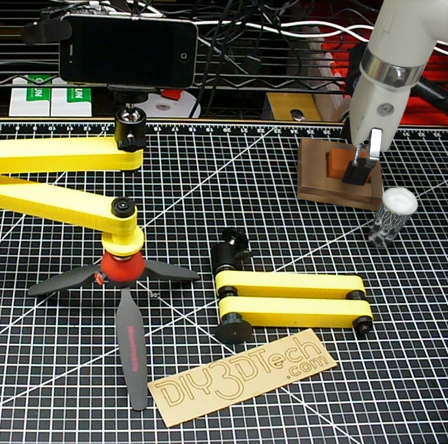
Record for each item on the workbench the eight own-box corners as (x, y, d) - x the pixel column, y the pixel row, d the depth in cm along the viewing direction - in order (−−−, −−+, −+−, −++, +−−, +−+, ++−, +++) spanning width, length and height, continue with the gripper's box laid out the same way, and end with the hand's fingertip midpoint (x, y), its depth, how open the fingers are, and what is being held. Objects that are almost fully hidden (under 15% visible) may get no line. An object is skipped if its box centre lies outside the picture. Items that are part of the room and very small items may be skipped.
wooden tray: (372, 161, 93) (378, 148, 91) (377, 211, 86) (384, 198, 84) (297, 149, 94) (301, 136, 92) (296, 198, 87) (301, 185, 85)
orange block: (362, 167, 90) (368, 153, 88) (364, 188, 87) (370, 174, 85) (326, 161, 91) (331, 147, 88) (326, 182, 88) (332, 168, 85)
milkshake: (362, 219, 85) (387, 171, 77) (398, 235, 83) (427, 187, 76) (352, 240, 82) (377, 191, 75) (389, 256, 81) (418, 209, 73)
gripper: (432, 109, 68) (381, 206, 81) (414, 30, 79) (371, 127, 92) (367, 99, 68) (327, 197, 81) (359, 22, 79) (324, 120, 92)
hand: (350, 160), depth 87 cm, fingers open, 9 cm apart
